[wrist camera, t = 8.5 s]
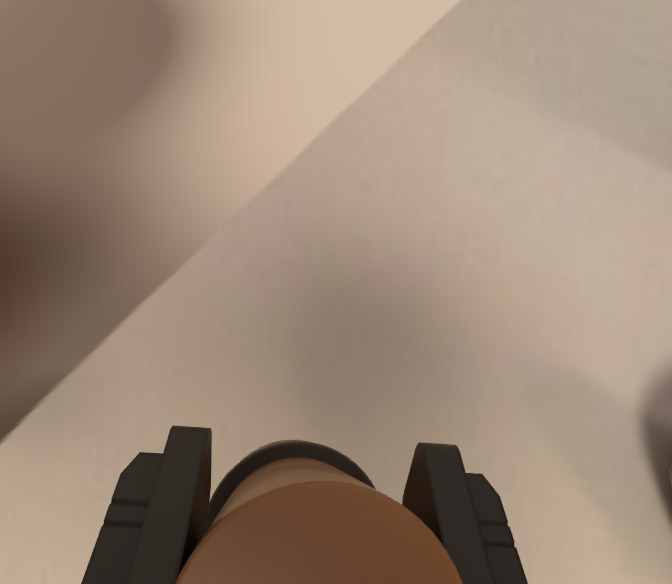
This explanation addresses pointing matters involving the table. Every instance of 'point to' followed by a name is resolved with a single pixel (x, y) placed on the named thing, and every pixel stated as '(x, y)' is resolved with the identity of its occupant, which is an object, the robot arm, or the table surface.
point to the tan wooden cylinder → (311, 526)
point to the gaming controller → (670, 474)
